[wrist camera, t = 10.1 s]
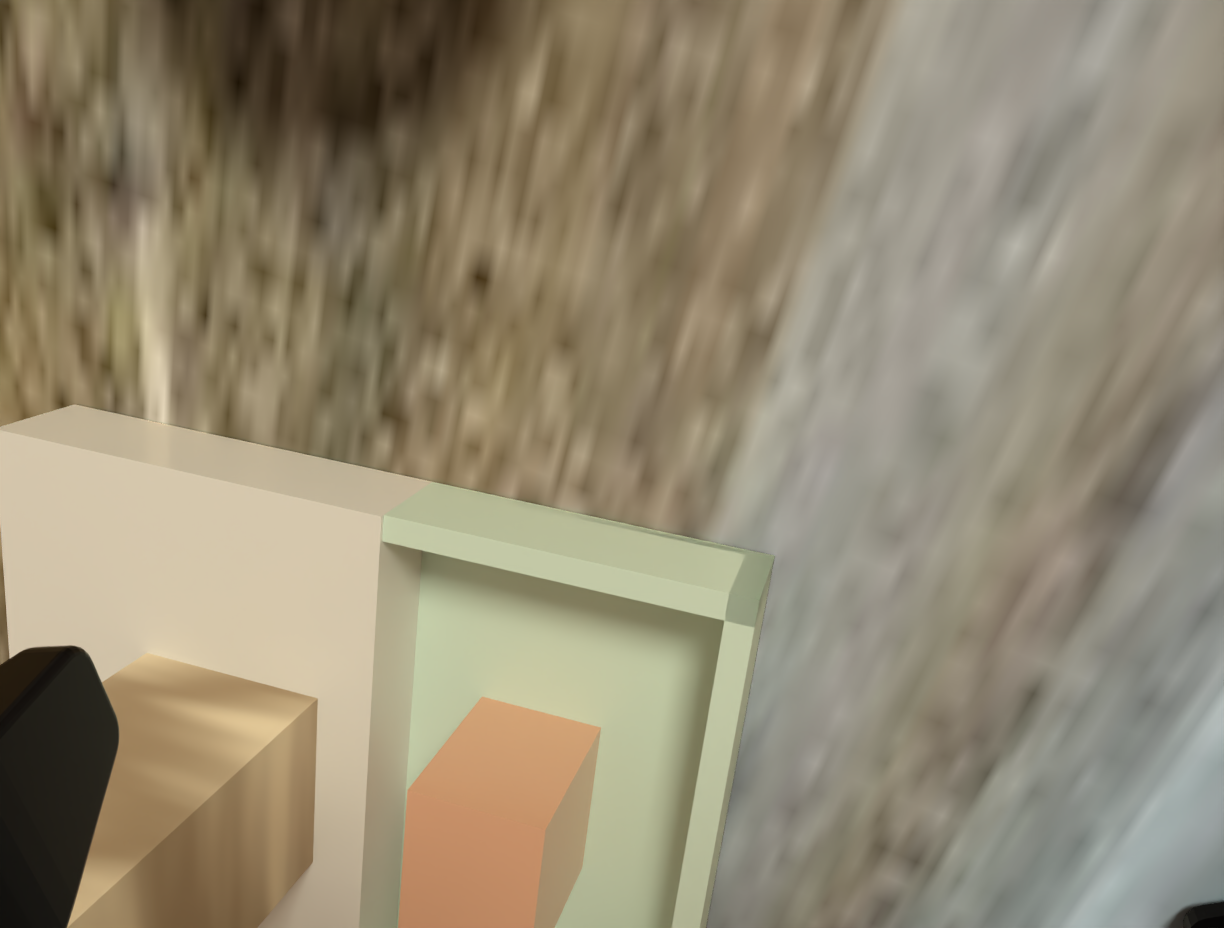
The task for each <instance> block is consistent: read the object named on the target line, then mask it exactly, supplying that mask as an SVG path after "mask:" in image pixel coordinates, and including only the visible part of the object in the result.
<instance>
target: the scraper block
mask: <svg viewBox="0 0 1224 928" xmlns="http://www.w3.org/2000/svg"><path fill="white" fill-rule="evenodd" d="M102 684H103V686H104V688H105V691H106V693H107V695H108V698H109V700H110V702H111V705H112V707H113V709H114V711H115V714H116V716H117V720H118V725H119V746H118V751H117V755H116V759H115V762H114V766H113V769H112V773H111V776H110V780H109V783H108V787H107V790H106V794H105V798H104V801H103V805H102V808H101V812H100V815H99V819H98V822H97V826H96V830H95V833H94V837H93V840H92V844H91V847H90V851H89V854H88V858H87V861H86V865H85V869H84V872H83V876H82V879H81V883H80V886H79V890H78V893H77V897H76V900H75V904H74V907H73V910H72V913H71V916H70V919H69V923H68V926H67V928H258V926H259V925H260V924H261V923H262V922H263V921H264V919H265V918H266V917H267V916H268V915H269V913H270V912H271V911H272V910H273V909H274V908H275V906H276V905H277V904H278V903H279V902H280V900H281V899H282V898H283V897H284V896H285V895H286V893H287V892H288V891H289V890H290V889H291V887H292V886H293V885H294V884H295V883H296V882H297V880H298V879H299V878H300V877H301V876H302V874H303V873H304V872H305V871H306V870H307V869H308V867H309V866H310V865H311V864H312V863H313V843H314V810H315V777H316V743H317V710H318V698H315V697H311V696H307V695H303V694H300V693H296V692H292V691H288V690H285V689H281V688H277V687H273V686H270V685H266V684H262V683H258V682H255V681H251V680H247V679H243V678H240V677H236V676H232V675H228V674H224V673H221V672H217V671H213V670H209V669H206V668H202V667H198V666H194V665H191V664H187V663H183V662H179V661H176V660H172V659H168V658H164V657H161V656H157V655H153V654H149V653H146V654H144V655H143V656H141V657H140V658H138V659H137V660H135V661H134V662H132V663H131V664H129V665H128V666H126V667H124V668H123V669H121V670H120V671H118V672H117V673H115V674H114V675H112V676H111V677H109V678H108V679H106V680H105V681H103V682H102Z"/></svg>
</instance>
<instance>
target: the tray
mask: <svg viewBox="0 0 1224 928" xmlns="http://www.w3.org/2000/svg"><path fill="white" fill-rule="evenodd" d="M382 541H383V542H388V543H392V544H396V545H401V546H405V547H409V548H414V549H418V550H422V562H421V577H420V592H419V606H418V621H417V635H416V650H415V664H414V679H413V693H412V708H411V722H410V737H409V751H408V766H407V780H406V795H405V810H404V824H403V839H402V853H401V868H400V882H399V897H398V911H397V926H396V928H398V921H399V906H400V891H401V877H402V862H403V848H404V833H405V818H406V804H407V790H408V789H409V788H410V786H411V785H412V784H413V783H414V781H415V780H416V779H417V778H418V776H419V775H420V774H421V773H422V771H423V770H424V769H425V767H426V766H427V765H428V764H429V762H430V761H431V760H432V759H433V757H434V756H435V755H436V754H437V752H438V751H439V750H440V749H441V747H442V746H443V745H444V744H445V742H446V741H447V740H448V739H449V737H450V736H451V735H452V734H453V732H454V731H455V730H456V728H457V727H458V726H459V725H460V723H461V722H462V721H463V720H464V718H465V717H466V716H467V715H468V713H469V712H470V711H471V710H472V708H473V707H474V706H475V705H476V703H477V702H478V701H479V700H480V698H481V697H486V698H490V699H494V700H497V701H501V702H505V703H509V704H513V705H517V706H520V707H524V708H528V709H532V710H536V711H540V712H543V713H547V714H551V715H555V716H559V717H563V718H566V719H570V720H574V721H578V722H582V723H586V724H589V725H593V726H597V727H601V733H600V740H599V748H598V755H597V763H596V770H595V777H594V785H593V792H592V800H591V807H590V815H589V822H588V830H587V837H586V844H585V852H584V859H583V867H582V870H581V872H580V874H579V876H578V878H577V881H576V883H575V885H574V887H573V889H572V891H571V893H570V896H569V898H568V900H567V902H566V904H565V906H564V909H563V911H562V913H561V915H560V917H559V919H558V921H557V924H556V926H555V928H706V926H707V920H708V915H709V909H710V904H711V899H712V893H713V888H714V882H715V877H716V872H717V866H718V861H719V855H720V850H721V844H722V839H723V834H724V828H725V823H726V817H727V812H728V807H729V801H730V796H731V790H732V785H733V780H734V774H735V769H736V763H737V758H738V753H739V747H740V742H741V736H742V731H743V726H744V720H745V715H746V709H747V704H748V698H749V693H750V688H751V682H752V677H753V671H754V666H755V661H756V655H757V650H758V644H759V639H760V634H761V628H762V623H763V617H764V612H765V607H766V601H767V596H768V590H769V585H770V580H771V574H772V569H773V563H774V558H775V556H773V555H769V554H764V553H759V552H755V551H750V550H746V549H741V548H736V547H732V546H727V545H722V544H718V543H713V542H709V541H704V540H699V539H695V538H690V537H685V536H681V535H676V534H671V533H667V532H662V531H658V530H653V529H648V528H644V527H639V526H634V525H630V524H625V523H621V522H616V521H611V520H607V519H602V518H597V517H593V516H588V515H584V514H579V513H574V512H570V511H565V510H560V509H556V508H551V507H547V506H542V505H537V504H533V503H528V502H523V501H519V500H514V499H510V498H505V497H500V496H496V495H491V494H486V493H482V492H477V491H473V490H468V489H463V488H459V487H454V486H449V485H445V484H440V483H436V482H431V483H430V484H428V485H427V486H426V487H424V488H423V489H421V490H420V491H418V492H417V493H415V494H414V495H412V496H411V497H409V498H408V499H406V500H405V501H404V502H402V503H401V504H399V505H398V506H396V507H395V508H393V509H392V510H390V511H389V512H387V513H386V514H385V515H384V520H383V538H382Z"/></svg>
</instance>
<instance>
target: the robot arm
mask: <svg viewBox="0 0 1224 928" xmlns="http://www.w3.org/2000/svg"><path fill="white" fill-rule="evenodd" d="M118 746H119V725H118V720H117V716H116V714H115V711H114V709H113V707H112V705H111V702H110V700H109V698H108V695H107V693H106V691H105V688H104V686H103V684H102V682H101V679H100V677H99V675H98V672H97V670H96V668H95V665H94V663H93V661H92V659H91V657H90V655H89V654H88V653H87V652H86V651H85V650H84V649H82V648H81V647H77V646H73V645H67V646H44V647H33V648H28V649H25V650H23V651H21V652H19V653H18V654H16V655H15V656H13V657H12V658H10V659H9V660H7V661H6V662H4V663H3V664H1V665H0V928H67V926H68V923H69V919H70V916H71V913H72V910H73V907H74V904H75V900H76V897H77V893H78V890H79V886H80V883H81V879H82V876H83V872H84V869H85V865H86V861H87V858H88V854H89V851H90V847H91V844H92V840H93V837H94V833H95V830H96V826H97V822H98V819H99V815H100V812H101V808H102V805H103V801H104V798H105V794H106V790H107V787H108V783H109V780H110V776H111V773H112V769H113V766H114V762H115V759H116V755H117V751H118ZM1183 925H1184V928H1224V902H1221V903H1214V904H1207V905H1202V906H1198V907H1195V908H1193V909H1192V910H1190V911H1189V912H1188V913H1187V914H1186V916H1185V918H1184V920H1183Z"/></svg>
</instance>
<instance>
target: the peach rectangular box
mask: <svg viewBox="0 0 1224 928" xmlns="http://www.w3.org/2000/svg"><path fill="white" fill-rule="evenodd" d="M600 733H601V727H597V726H593V725H589V724H586V723H582V722H578V721H574V720H570V719H566V718H563V717H559V716H555V715H551V714H547V713H543V712H540V711H536V710H532V709H528V708H524V707H520V706H517V705H513V704H509V703H505V702H501V701H497V700H494V699H490V698H486V697H481V698H480V700H479V701H478V702H477V703H476V705H475V706H474V707H473V708H472V710H471V711H470V712H469V713H468V715H467V716H466V717H465V718H464V720H463V721H462V722H461V723H460V725H459V726H458V727H457V728H456V730H455V731H454V732H453V734H452V735H451V736H450V737H449V739H448V740H447V741H446V742H445V744H444V745H443V746H442V747H441V749H440V750H439V751H438V752H437V754H436V755H435V756H434V757H433V759H432V760H431V761H430V762H429V764H428V765H427V766H426V767H425V769H424V770H423V771H422V773H421V774H420V775H419V776H418V778H417V779H416V780H415V781H414V783H413V784H412V785H411V786H410V788H409V789H408V790H407V804H406V818H405V833H404V848H403V862H402V877H401V891H400V906H399V921H398V928H555V926H556V924H557V921H558V919H559V917H560V915H561V913H562V911H563V909H564V906H565V904H566V902H567V900H568V898H569V896H570V893H571V891H572V889H573V887H574V885H575V883H576V881H577V878H578V876H579V874H580V872H581V870H582V867H583V859H584V852H585V844H586V837H587V830H588V822H589V815H590V807H591V800H592V792H593V785H594V777H595V770H596V763H597V755H598V748H599V740H600Z"/></svg>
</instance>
